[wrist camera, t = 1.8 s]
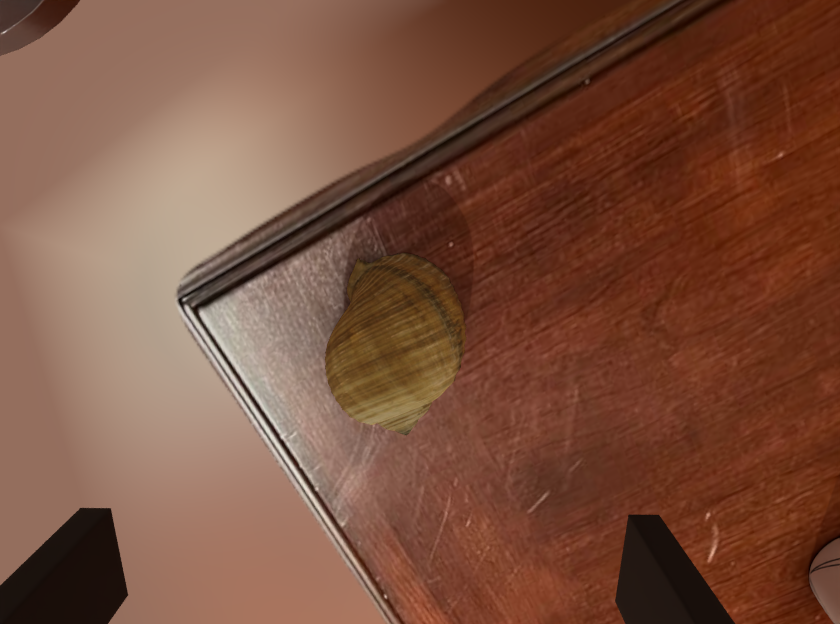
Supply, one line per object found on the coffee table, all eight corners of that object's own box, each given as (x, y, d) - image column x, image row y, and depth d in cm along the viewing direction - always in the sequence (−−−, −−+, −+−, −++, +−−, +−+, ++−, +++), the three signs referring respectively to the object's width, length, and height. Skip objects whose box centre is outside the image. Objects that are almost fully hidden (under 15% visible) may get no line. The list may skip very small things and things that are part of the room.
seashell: (378, 258, 30) (269, 287, 25) (460, 224, 25) (347, 250, 20) (426, 399, 31) (331, 458, 25) (516, 392, 26) (421, 464, 20)
